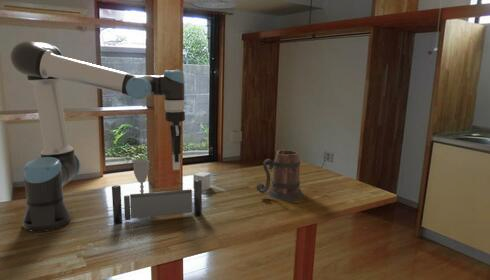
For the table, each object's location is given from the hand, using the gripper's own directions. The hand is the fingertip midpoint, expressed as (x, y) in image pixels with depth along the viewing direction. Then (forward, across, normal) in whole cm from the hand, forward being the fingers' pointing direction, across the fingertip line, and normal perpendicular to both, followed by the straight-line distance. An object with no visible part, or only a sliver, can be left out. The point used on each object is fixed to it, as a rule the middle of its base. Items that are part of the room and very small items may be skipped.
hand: (176, 169), depth 145 cm
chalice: (+17, +11, +14) cm, 24 cm away
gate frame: (+17, -8, +8) cm, 20 cm away
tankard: (+18, +5, -48) cm, 51 cm away
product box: (+17, +22, -14) cm, 32 cm away
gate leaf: (+16, -8, +8) cm, 19 cm away
